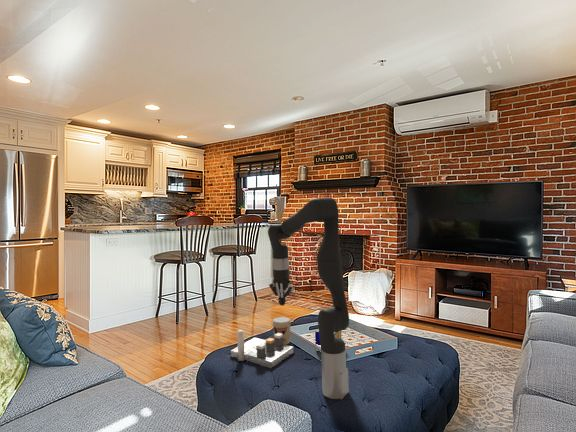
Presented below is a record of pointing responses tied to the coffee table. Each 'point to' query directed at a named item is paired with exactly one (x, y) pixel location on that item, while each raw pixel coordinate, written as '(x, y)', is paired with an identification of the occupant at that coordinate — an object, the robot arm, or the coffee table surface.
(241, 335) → the post
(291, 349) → the breaker panel
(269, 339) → the toggle
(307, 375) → the coffee table surface
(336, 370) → the robot arm
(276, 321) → the coffee cup
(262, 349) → the toggle
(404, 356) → the coffee table surface
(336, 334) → the puzzle cube
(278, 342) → the toggle
